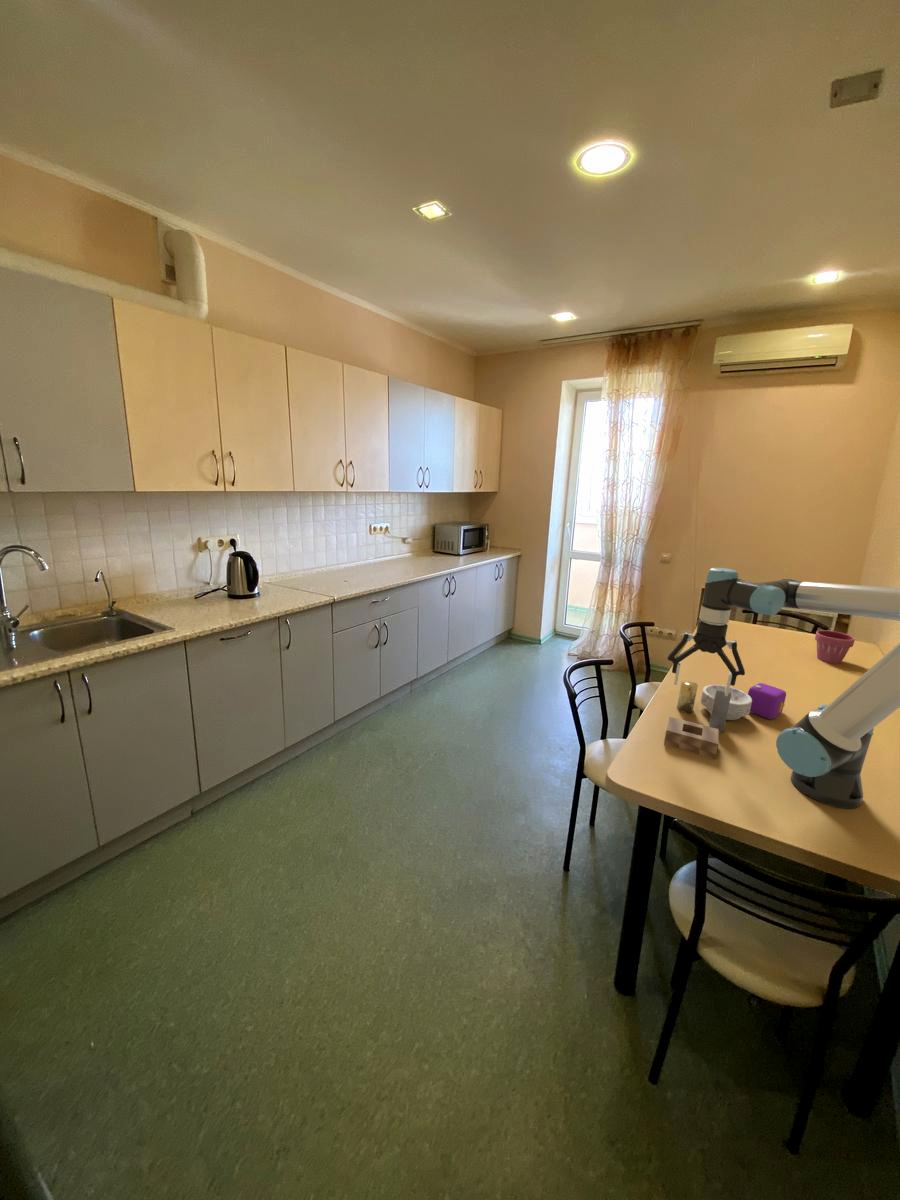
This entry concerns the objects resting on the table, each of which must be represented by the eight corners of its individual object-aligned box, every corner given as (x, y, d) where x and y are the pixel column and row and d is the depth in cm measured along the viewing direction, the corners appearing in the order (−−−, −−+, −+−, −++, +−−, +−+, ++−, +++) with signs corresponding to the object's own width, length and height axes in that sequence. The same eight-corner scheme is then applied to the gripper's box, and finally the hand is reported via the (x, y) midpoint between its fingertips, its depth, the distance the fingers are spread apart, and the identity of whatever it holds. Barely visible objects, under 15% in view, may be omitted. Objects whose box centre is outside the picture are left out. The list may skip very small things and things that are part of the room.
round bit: (693, 708, 169) (698, 682, 167) (692, 714, 165) (697, 688, 162) (677, 704, 172) (682, 679, 169) (676, 710, 167) (680, 684, 165)
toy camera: (785, 710, 171) (791, 685, 168) (778, 723, 161) (784, 697, 158) (751, 700, 178) (756, 676, 175) (742, 712, 168) (748, 686, 166)
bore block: (715, 743, 147) (718, 729, 146) (715, 759, 138) (718, 744, 137) (667, 730, 153) (669, 716, 152) (663, 744, 145) (666, 730, 144)
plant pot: (817, 663, 219) (824, 637, 215) (805, 653, 232) (811, 628, 229) (854, 667, 215) (861, 641, 212) (839, 657, 228) (846, 632, 225)
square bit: (723, 727, 157) (731, 688, 153) (723, 732, 153) (731, 693, 150) (709, 723, 159) (716, 685, 155) (708, 729, 155) (716, 690, 152)
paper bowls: (702, 719, 162) (706, 698, 160) (696, 700, 176) (700, 681, 174) (752, 728, 157) (757, 707, 155) (742, 708, 171) (747, 688, 169)
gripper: (763, 626, 133) (748, 694, 138) (667, 611, 145) (657, 674, 150) (765, 633, 127) (749, 704, 132) (665, 616, 138) (654, 683, 144)
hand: (700, 688), depth 141 cm, fingers open, 13 cm apart
